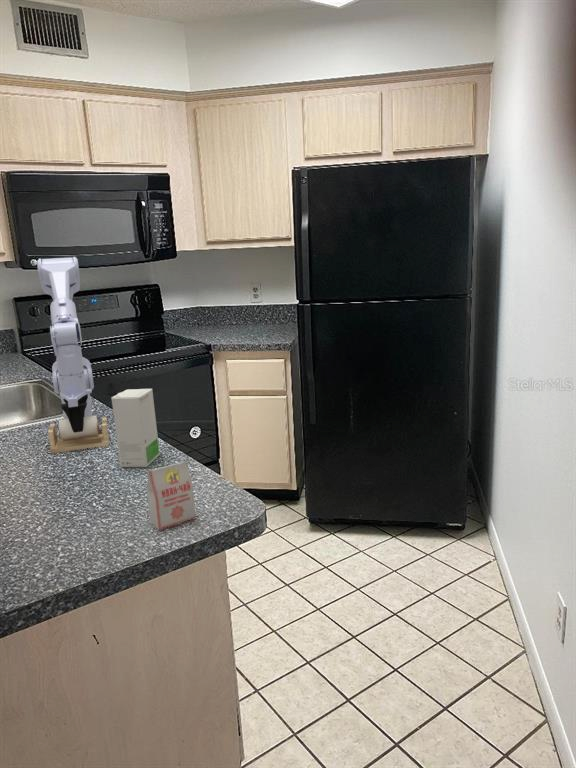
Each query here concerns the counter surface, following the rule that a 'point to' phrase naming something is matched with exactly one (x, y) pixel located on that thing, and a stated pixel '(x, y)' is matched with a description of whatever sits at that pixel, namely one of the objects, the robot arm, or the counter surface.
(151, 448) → the skincare box
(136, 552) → the counter surface
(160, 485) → the tea bag
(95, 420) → the paper roll
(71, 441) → the holder
